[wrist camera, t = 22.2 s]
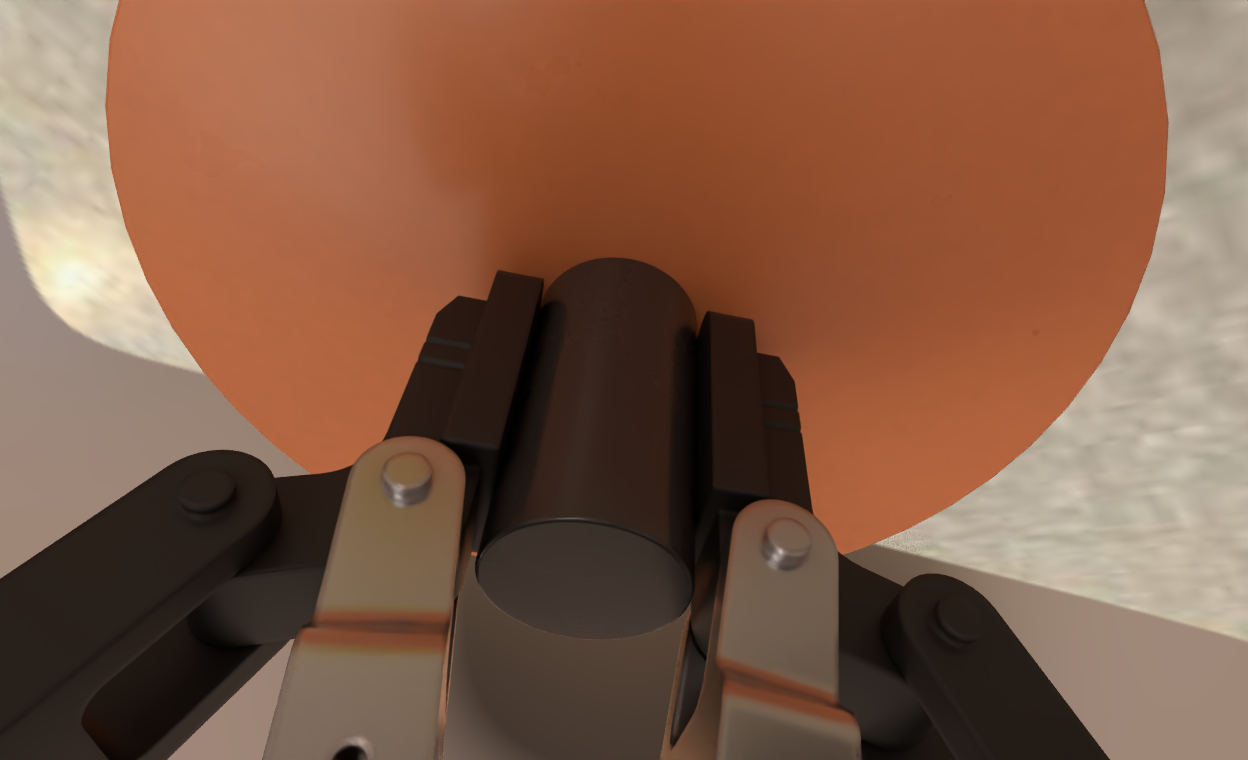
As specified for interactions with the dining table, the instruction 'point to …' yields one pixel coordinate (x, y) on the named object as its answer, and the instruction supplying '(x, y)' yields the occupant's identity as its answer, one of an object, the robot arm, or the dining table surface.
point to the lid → (648, 239)
